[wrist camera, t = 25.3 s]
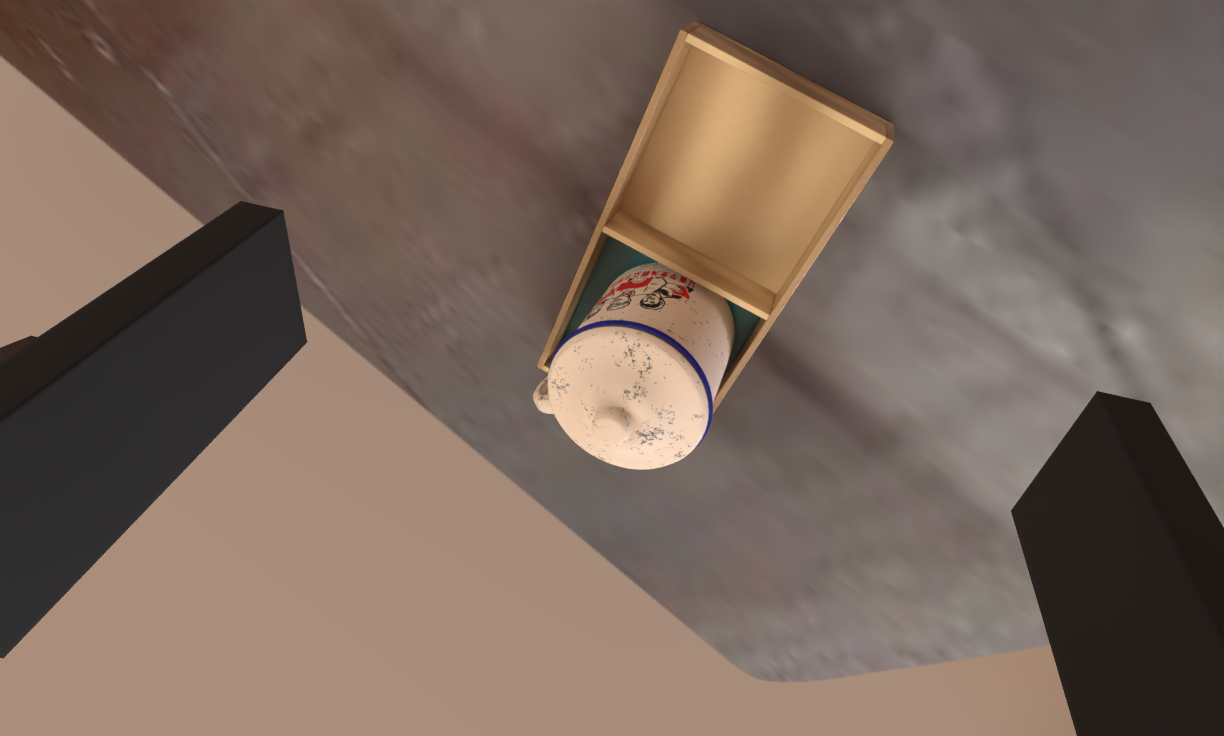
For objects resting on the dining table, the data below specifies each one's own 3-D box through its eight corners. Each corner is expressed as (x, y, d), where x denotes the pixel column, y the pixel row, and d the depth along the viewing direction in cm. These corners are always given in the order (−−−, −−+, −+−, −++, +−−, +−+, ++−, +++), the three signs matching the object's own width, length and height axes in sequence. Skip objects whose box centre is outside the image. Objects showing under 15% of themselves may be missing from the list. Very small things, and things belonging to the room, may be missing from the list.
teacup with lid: (705, 235, 41) (651, 330, 32) (762, 367, 44) (727, 489, 35) (538, 294, 47) (450, 390, 37) (598, 407, 50) (532, 521, 41)
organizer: (556, 341, 49) (536, 366, 47) (696, 20, 36) (680, 28, 33) (699, 420, 49) (688, 450, 46) (894, 124, 36) (894, 141, 33)
